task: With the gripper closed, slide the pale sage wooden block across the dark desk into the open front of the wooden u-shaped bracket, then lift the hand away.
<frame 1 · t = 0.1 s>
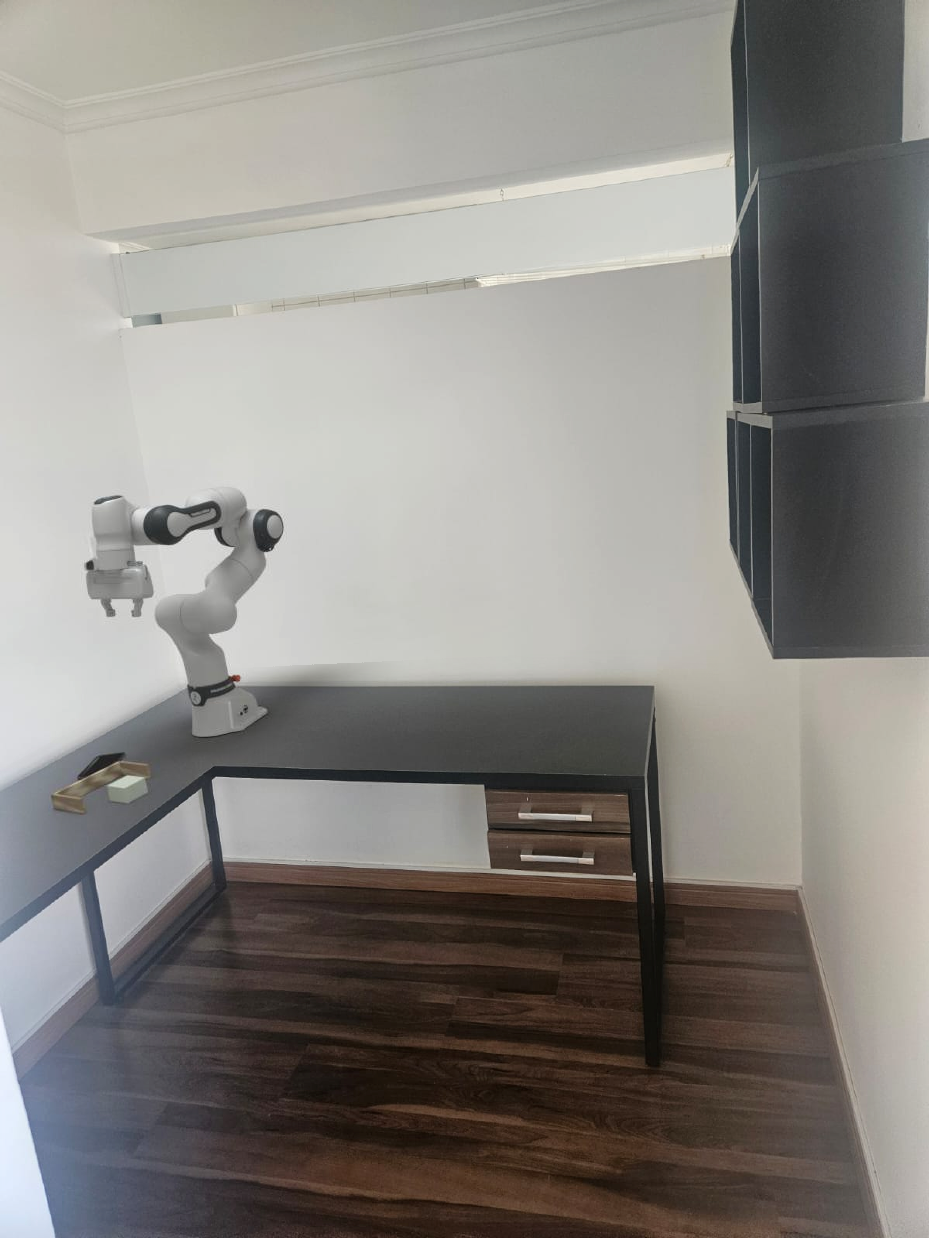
hand: (123, 616, 217), 39 cm above the table, tool pointing down, fingers open, 8 cm apart
wooden u-shaped bracket: (103, 792, 208), on the table
sage block: (129, 797, 204), on the table
phone: (103, 769, 226), on the table
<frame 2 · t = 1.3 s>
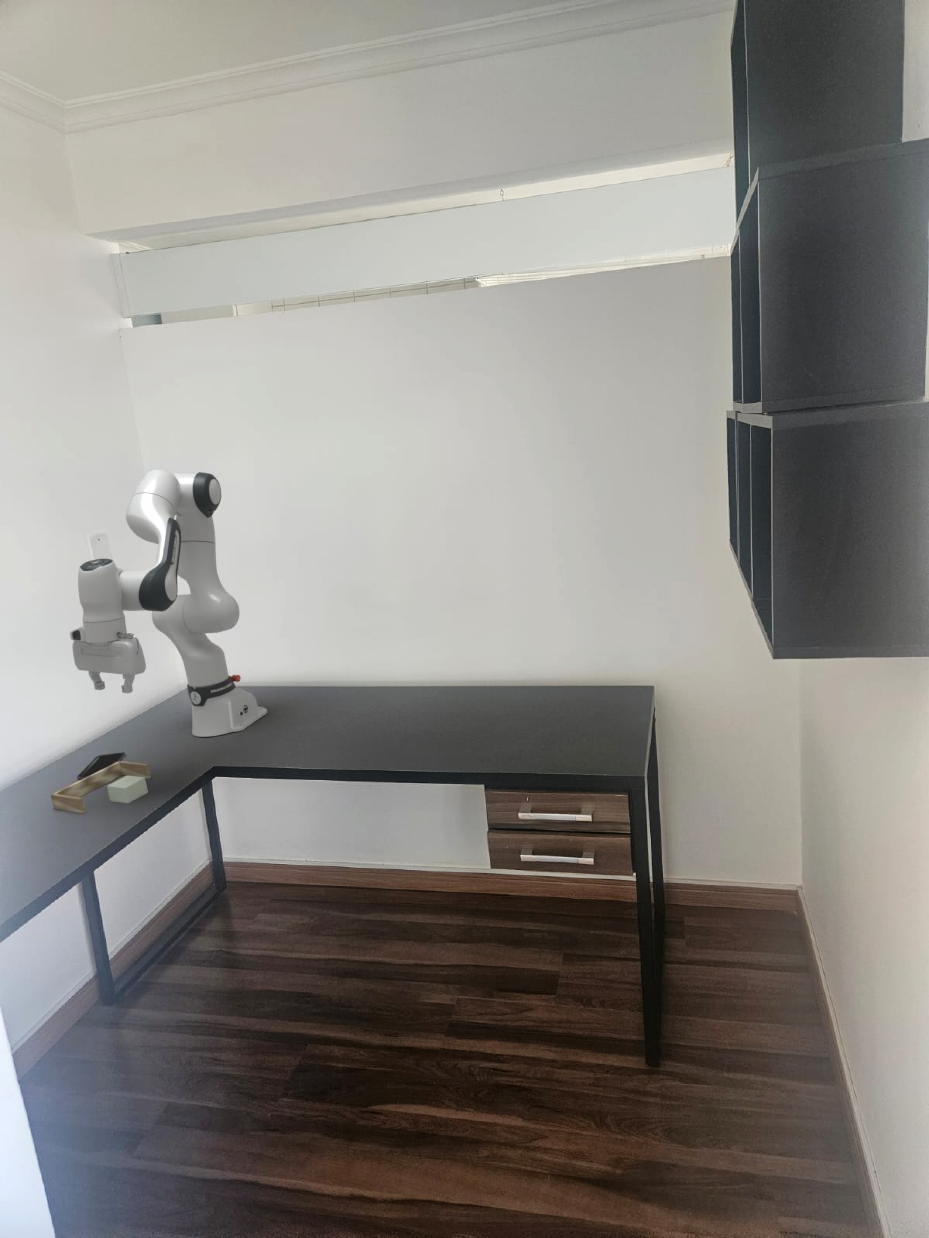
hand: (113, 691, 197), 26 cm above the table, tool pointing down, fingers open, 8 cm apart
nothing on the table moved.
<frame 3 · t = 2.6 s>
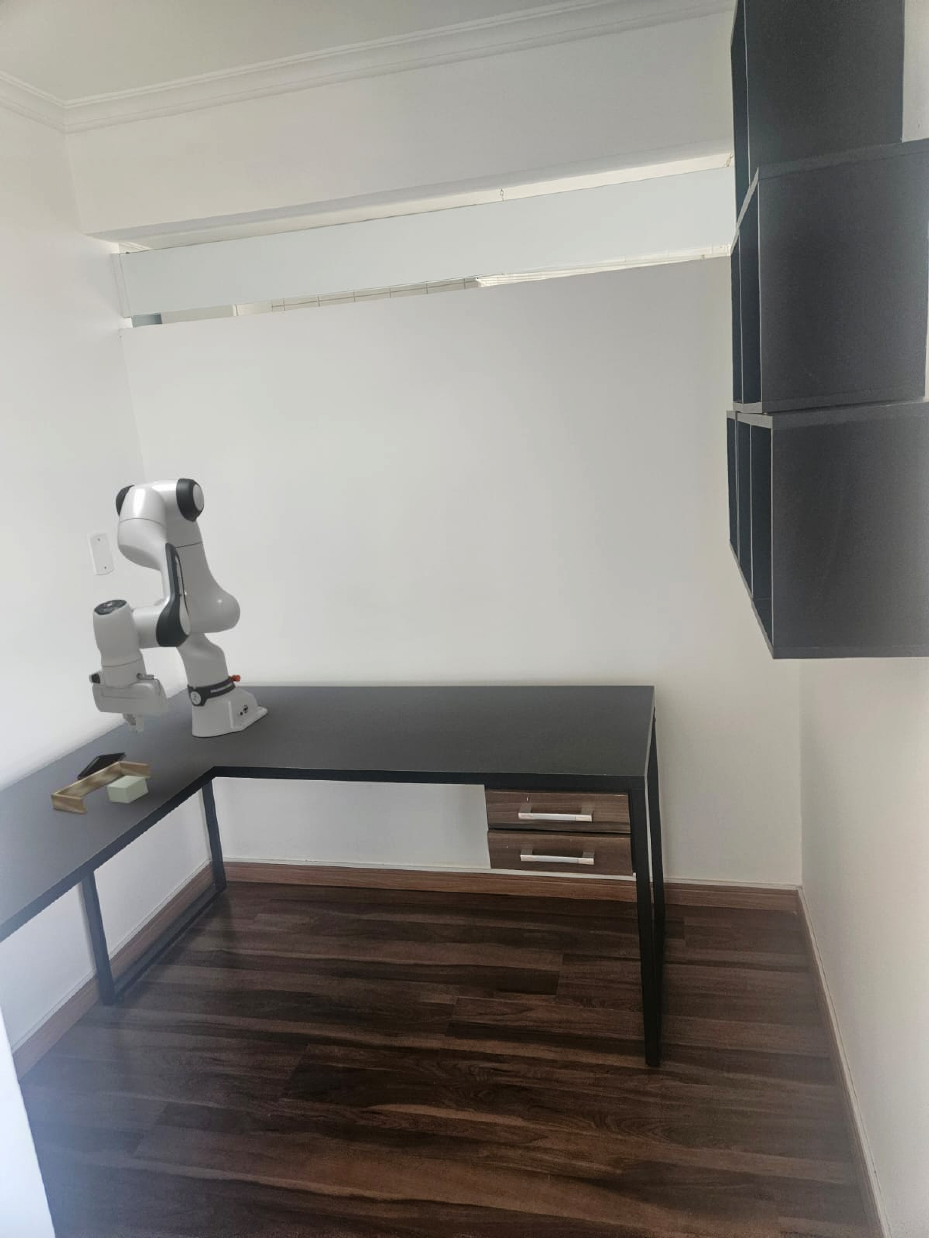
hand: (137, 731, 196), 17 cm above the table, tool pointing down, fingers closed
nothing on the table moved.
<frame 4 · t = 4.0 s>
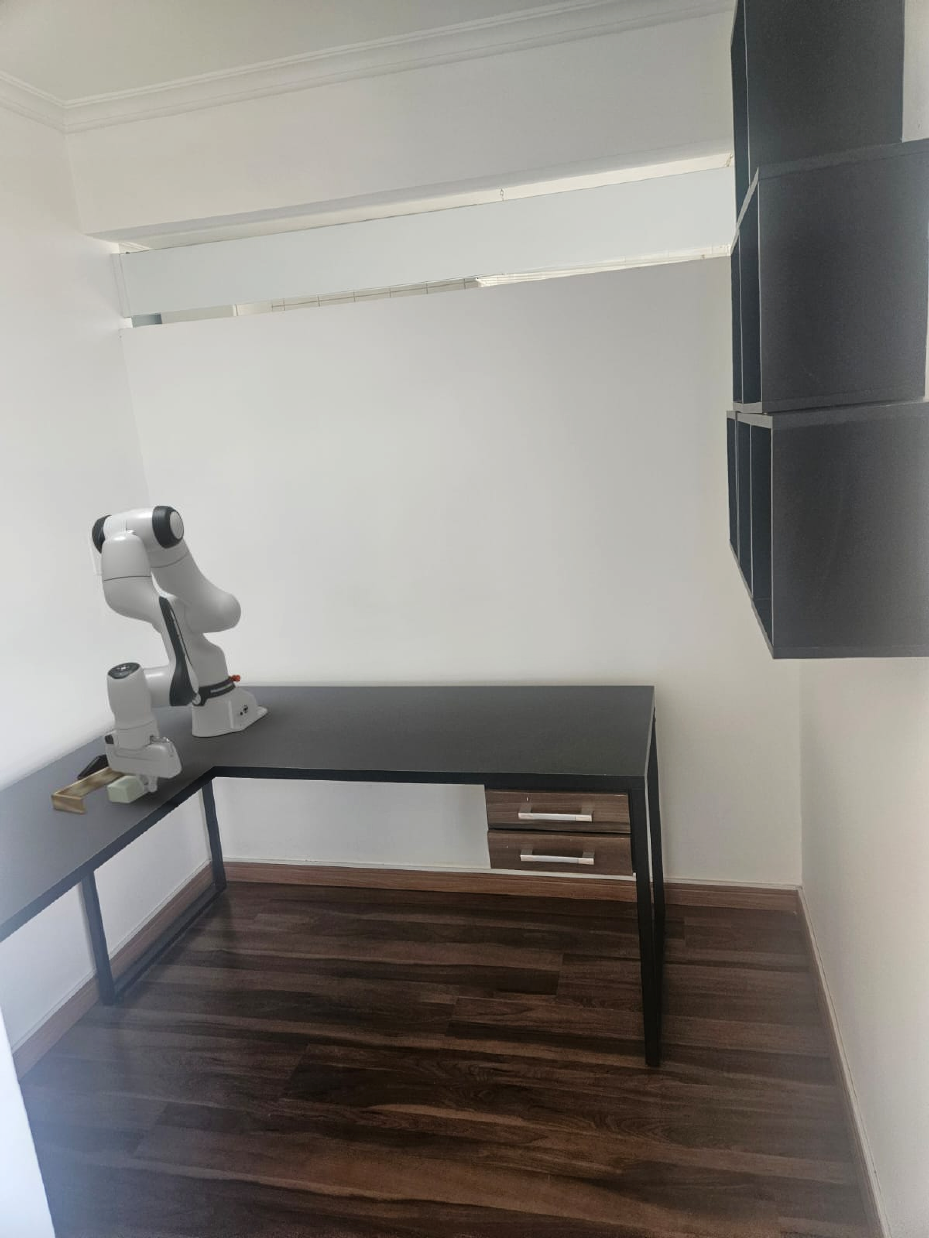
hand: (150, 790, 199), 2 cm above the table, tool pointing down, fingers closed
nothing on the table moved.
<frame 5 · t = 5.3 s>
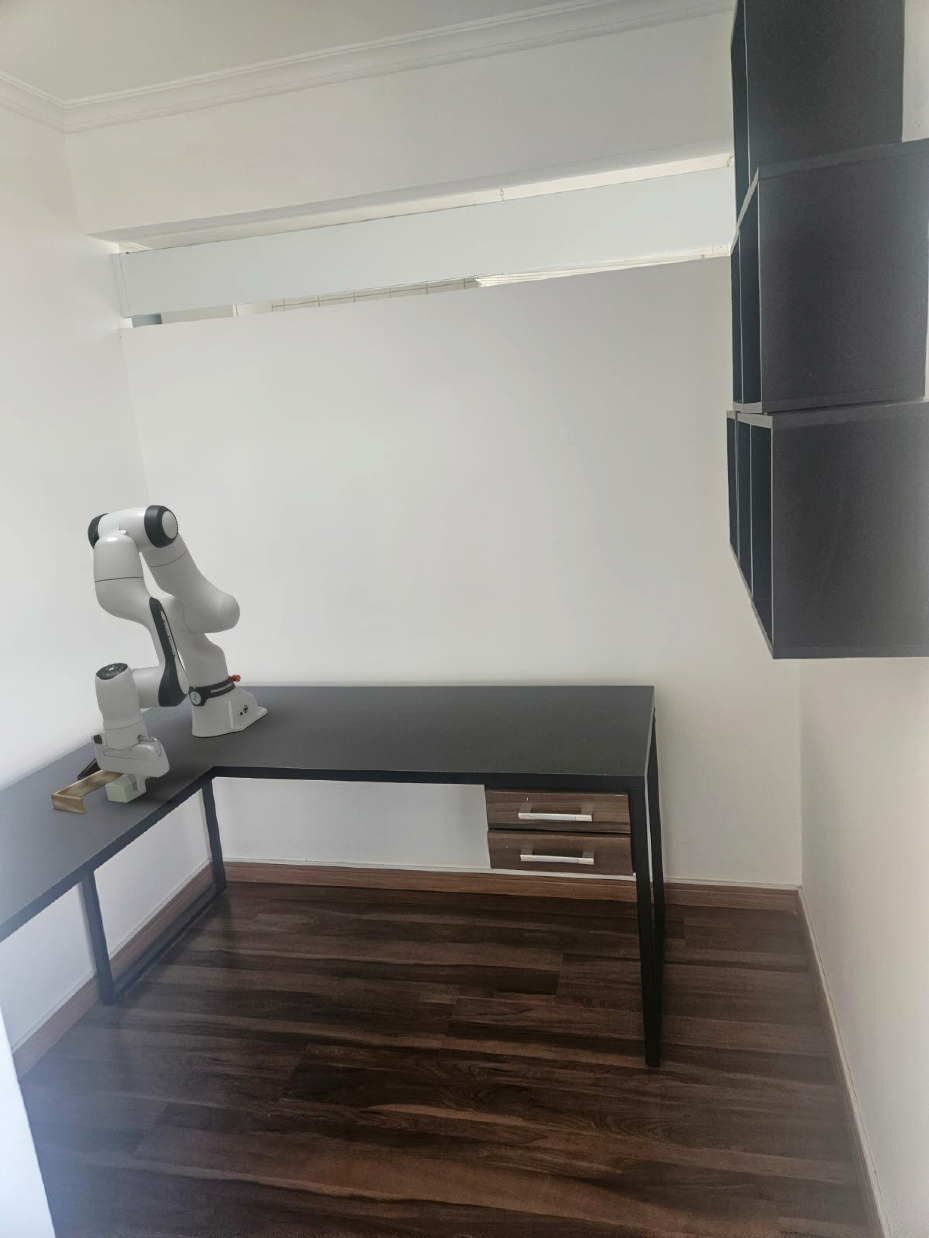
hand: (138, 789, 202), 2 cm above the table, tool pointing down, fingers closed
sage block: (127, 796, 204), on the table, touching gripper
everything else where it was.
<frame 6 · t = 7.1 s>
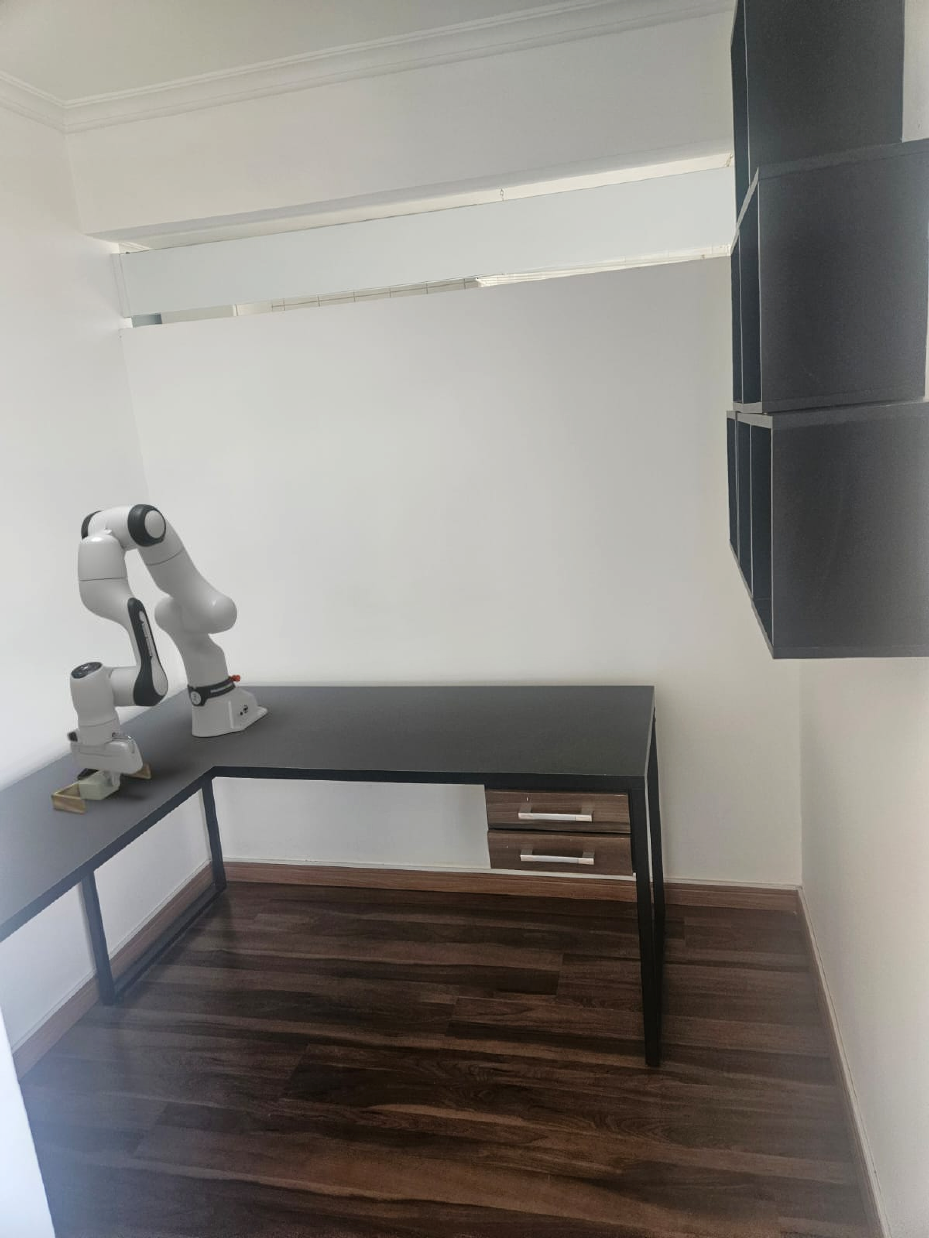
hand: (113, 786, 206), 2 cm above the table, tool pointing down, fingers closed
sage block: (100, 794, 208), on the table
everything else where it was.
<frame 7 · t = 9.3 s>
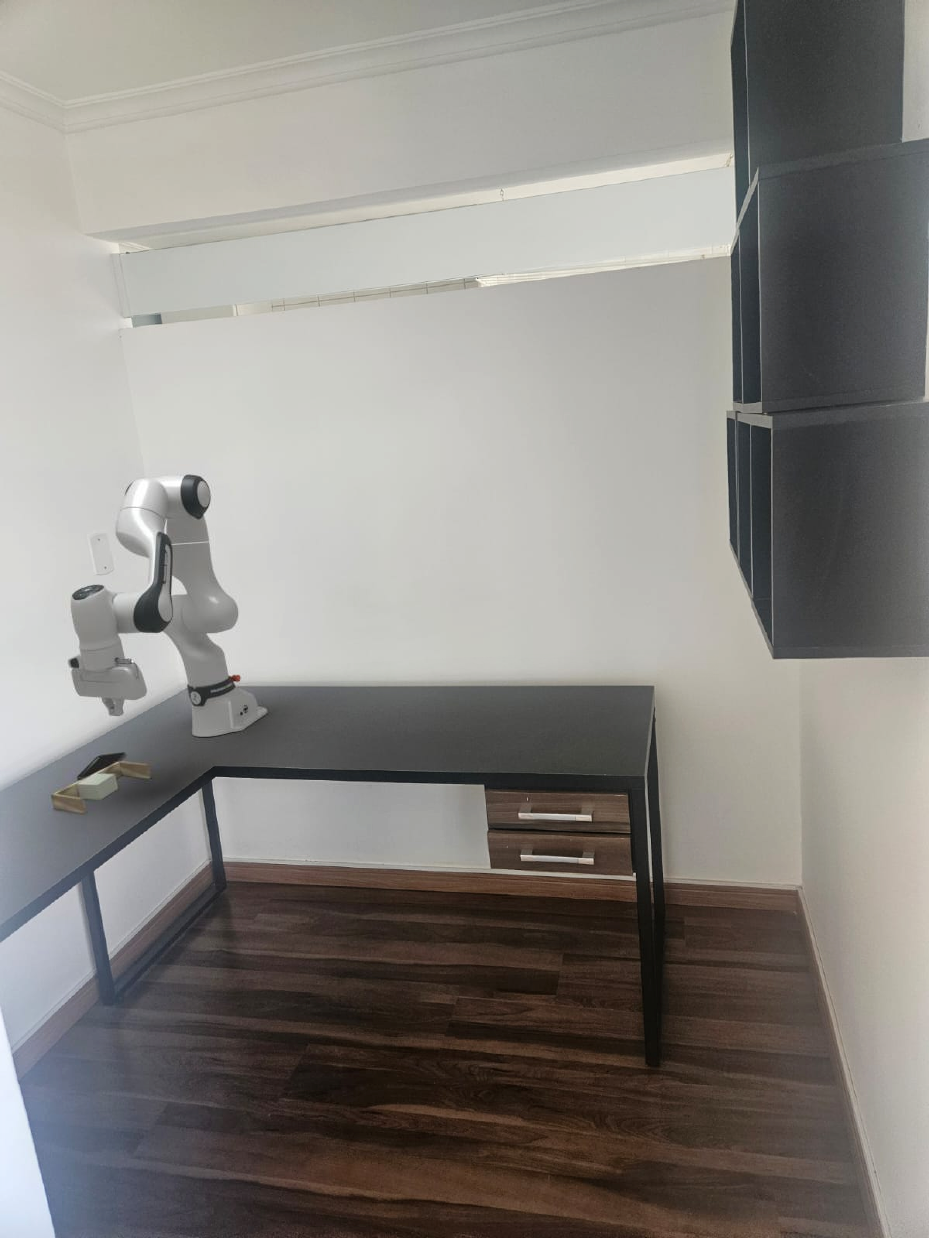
hand: (116, 715, 198), 20 cm above the table, tool pointing down, fingers closed
nothing on the table moved.
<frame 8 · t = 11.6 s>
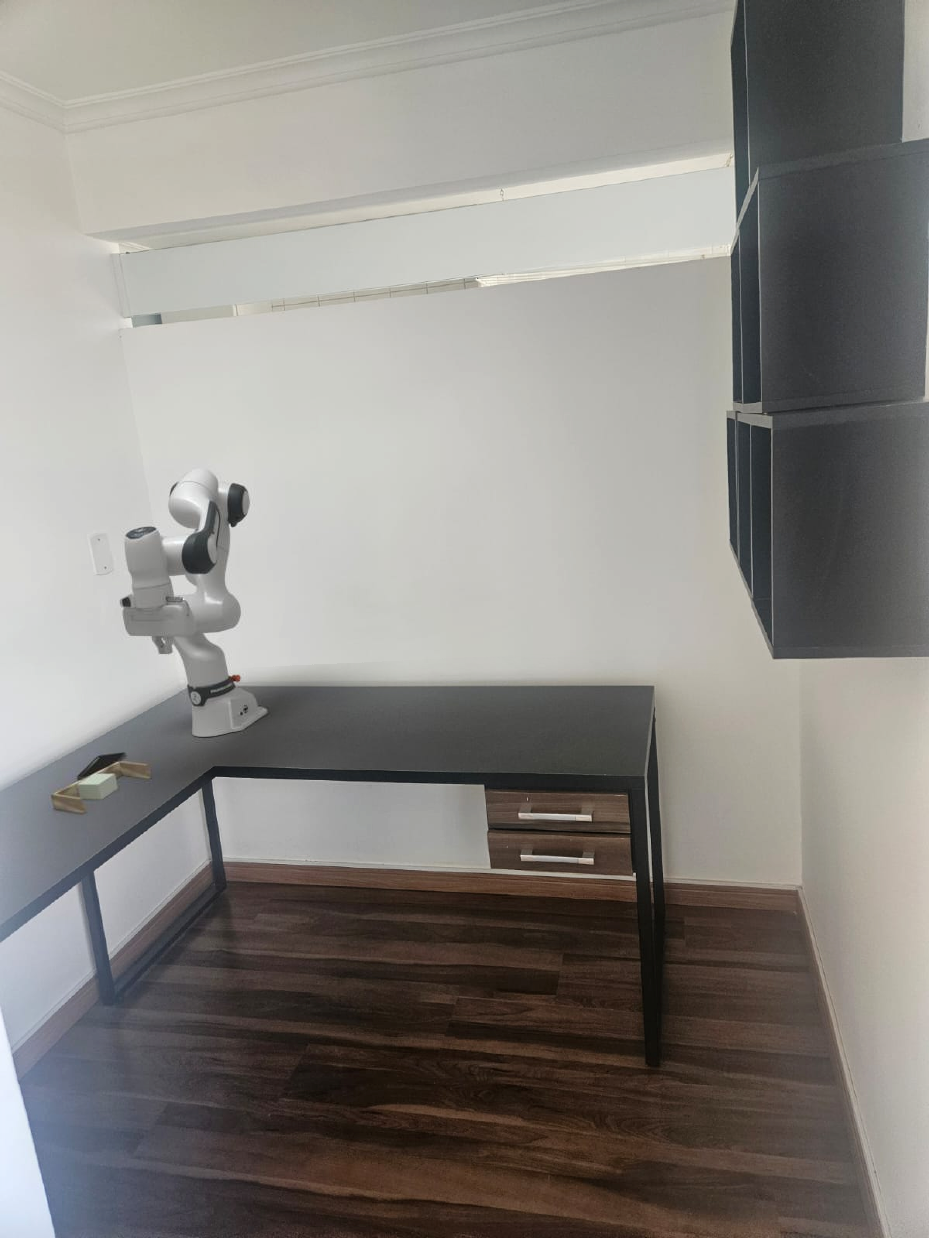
hand: (166, 653, 206), 31 cm above the table, tool pointing down, fingers closed
nothing on the table moved.
at the end: sage block inside the target area (0.8 cm from its centre), on the table; sage block moved 9.6 cm from its start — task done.
